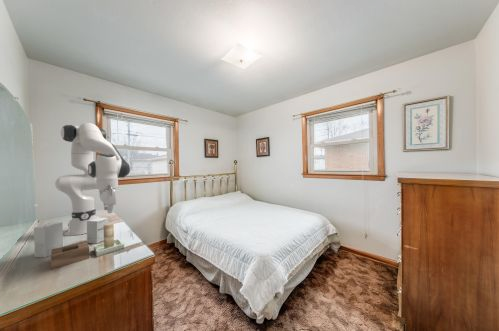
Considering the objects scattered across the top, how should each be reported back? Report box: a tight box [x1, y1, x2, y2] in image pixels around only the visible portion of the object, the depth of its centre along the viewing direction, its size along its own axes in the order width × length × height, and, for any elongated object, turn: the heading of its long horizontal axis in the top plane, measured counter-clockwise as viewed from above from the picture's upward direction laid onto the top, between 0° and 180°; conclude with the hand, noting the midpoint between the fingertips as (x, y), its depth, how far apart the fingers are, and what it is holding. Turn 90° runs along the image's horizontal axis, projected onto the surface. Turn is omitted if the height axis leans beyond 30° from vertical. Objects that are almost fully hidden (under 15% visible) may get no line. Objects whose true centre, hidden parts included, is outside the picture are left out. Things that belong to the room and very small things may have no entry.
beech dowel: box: [103, 223, 115, 249], centre depth 92 cm, size 4×4×12 cm
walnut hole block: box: [50, 240, 90, 271], centre depth 83 cm, size 12×12×5 cm
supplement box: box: [86, 217, 110, 244], centre depth 104 cm, size 7×7×13 cm
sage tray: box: [93, 238, 125, 258], centre depth 92 cm, size 11×11×2 cm
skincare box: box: [33, 221, 64, 258], centre depth 89 cm, size 8×6×15 cm
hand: (108, 211), depth 92 cm, fingers open, 8 cm apart
